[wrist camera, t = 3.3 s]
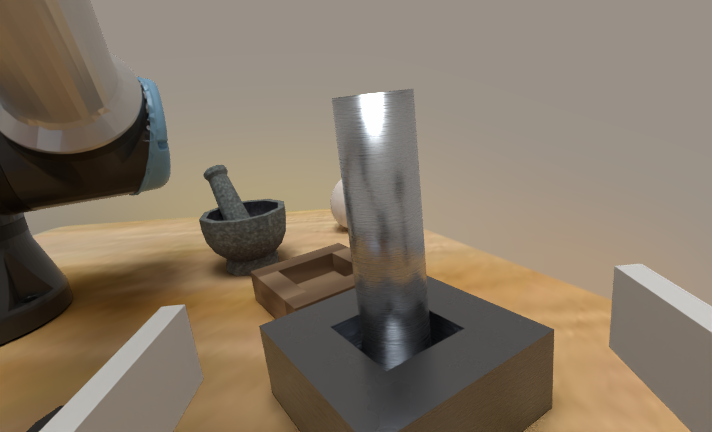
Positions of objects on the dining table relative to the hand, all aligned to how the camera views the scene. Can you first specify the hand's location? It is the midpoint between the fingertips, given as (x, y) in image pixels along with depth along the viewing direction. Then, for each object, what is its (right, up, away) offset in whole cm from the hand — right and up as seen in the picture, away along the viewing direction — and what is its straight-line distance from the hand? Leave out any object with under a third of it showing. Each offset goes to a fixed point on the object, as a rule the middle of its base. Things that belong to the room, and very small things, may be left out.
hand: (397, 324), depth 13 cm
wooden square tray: (-4, -5, +26) cm, 27 cm away
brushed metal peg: (+1, -6, +12) cm, 13 cm away
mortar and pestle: (-14, -3, +37) cm, 40 cm away
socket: (+2, -8, +12) cm, 15 cm away
